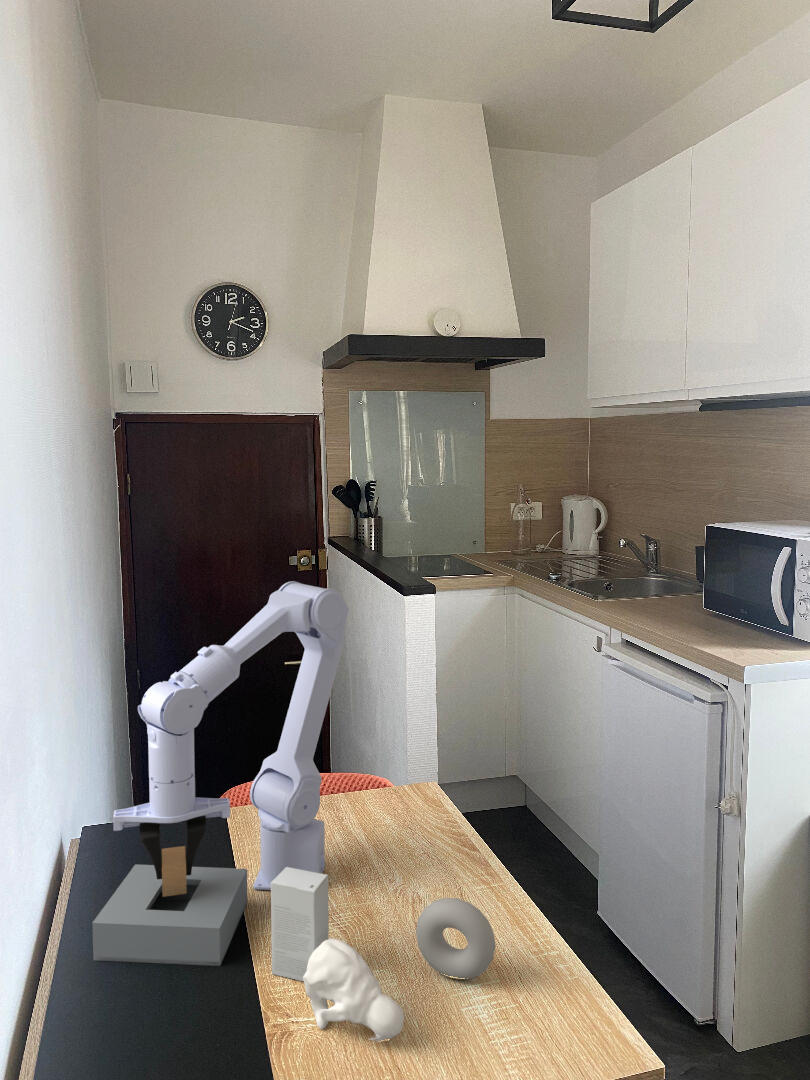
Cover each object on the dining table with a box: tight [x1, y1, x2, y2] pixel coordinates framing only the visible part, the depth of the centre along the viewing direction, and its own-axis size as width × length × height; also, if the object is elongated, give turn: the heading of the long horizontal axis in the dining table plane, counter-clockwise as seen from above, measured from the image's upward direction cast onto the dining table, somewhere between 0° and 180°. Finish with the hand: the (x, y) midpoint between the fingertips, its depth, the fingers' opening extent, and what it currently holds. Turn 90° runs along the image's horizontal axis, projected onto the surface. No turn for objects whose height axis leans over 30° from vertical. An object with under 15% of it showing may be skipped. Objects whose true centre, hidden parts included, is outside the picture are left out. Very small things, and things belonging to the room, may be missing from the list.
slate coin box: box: [91, 864, 248, 967], centre depth 107 cm, size 16×14×5 cm
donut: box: [415, 897, 497, 980], centre depth 98 cm, size 10×3×10 cm, turn 69°
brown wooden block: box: [161, 845, 187, 897], centre depth 106 cm, size 3×5×4 cm, turn 17°
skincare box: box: [270, 867, 330, 982], centre depth 99 cm, size 6×4×12 cm
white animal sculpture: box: [302, 937, 405, 1042], centre depth 89 cm, size 6×8×12 cm
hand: (174, 873), depth 106 cm, fingers closed on brown wooden block, 3 cm apart
